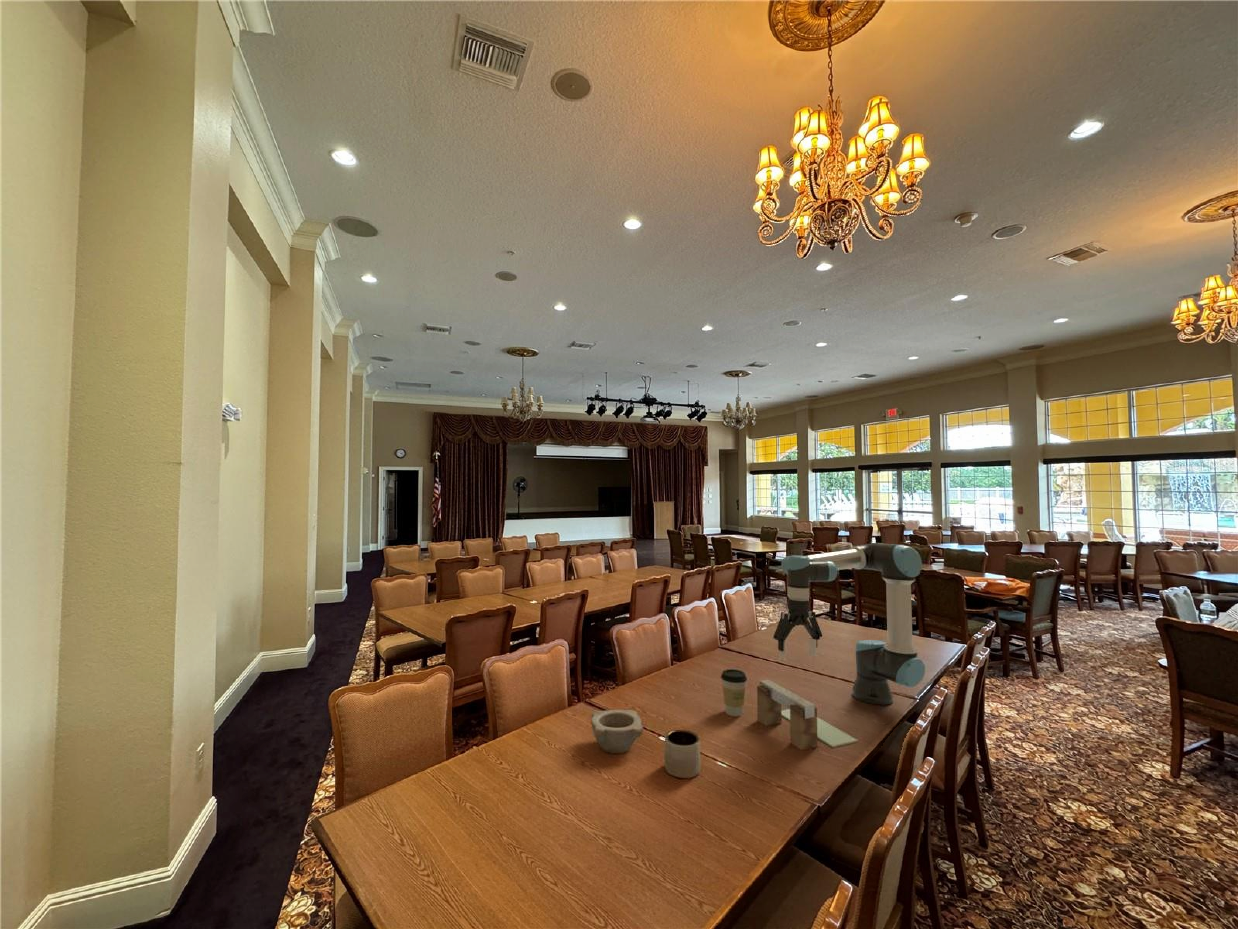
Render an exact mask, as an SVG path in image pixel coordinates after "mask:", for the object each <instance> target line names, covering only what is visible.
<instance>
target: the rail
mask: <svg viewBox="0 0 1238 929" xmlns="http://www.w3.org/2000/svg"><path fill="white" fill-rule="evenodd" d="M759 686H761V687H763V688H765V689H767V690H768V697H769V698H771V699H773V700H774V701H776V702H778V703H779V704H781V706H783V707H785V708H786V709H790V705H795V706H796V707H798V708H800V709H801V710H803V718H805V719H806V718H811V717H815V709H814V707H815V703H812V702H811V701H809V700H806V699H805V698H803V697H801V696H800V695H798V694H796V693H794V692H792V691H790V690H788V689H787V688H785V687H783V686H781V685H779V684H777V683H776V682H774V681H771V680H770V679H764V680H759Z"/></svg>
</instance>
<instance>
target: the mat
mask: <svg viewBox="0 0 1238 929" xmlns="http://www.w3.org/2000/svg"><path fill="white" fill-rule="evenodd" d="M781 713H782V718H785V720H787V721H789V722H790V709H788V708H786V709H783V710H782V709H781ZM817 738H818V741H821V742H823V743H824V744H826V745H827V746H829V747H830V748H837V747H841V746H846V745H850V744H855V743H858V739H857V738H856V737H853V736H851V735H849V734H848V733H846V732H844V731H843V730H840V729H839V728H837V727H835V726H833V725H831V723H828V722H827V721H824V720H823V719H821V718H820V717H818V716H817Z"/></svg>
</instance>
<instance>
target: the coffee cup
mask: <svg viewBox="0 0 1238 929" xmlns="http://www.w3.org/2000/svg"><path fill="white" fill-rule="evenodd" d="M720 678H721V680H722V681H721V682H722V691H723V698H724V699H723V700H724V705H725V706H724V707H725V712H726V714H727V715H729V716H731V717H740V716H742V715H743V711H744V705H745V704H744V703H745V694H746V682H747V681H748V678H747V676H746V673H745V672H744V671H742V670H740V669H733V668H730V669H724V670H722V673H721V676H720Z"/></svg>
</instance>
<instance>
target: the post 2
mask: <svg viewBox="0 0 1238 929" xmlns="http://www.w3.org/2000/svg"><path fill="white" fill-rule="evenodd" d="M814 709H815V717H811V718H806V719H805V718H803V710H801V709H800V708H798V707H796V706H795V705H790V721H789V723H790V724H789V725H790V726H789V727H790V729H789V730H790V743H791V745H792V746H794V747H796V748H797V749H799V750H800V751H803V750H806V749H811V748H816V747H818V741H819V739H818V738H817V717H818V708H817V707H816V706H814Z"/></svg>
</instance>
